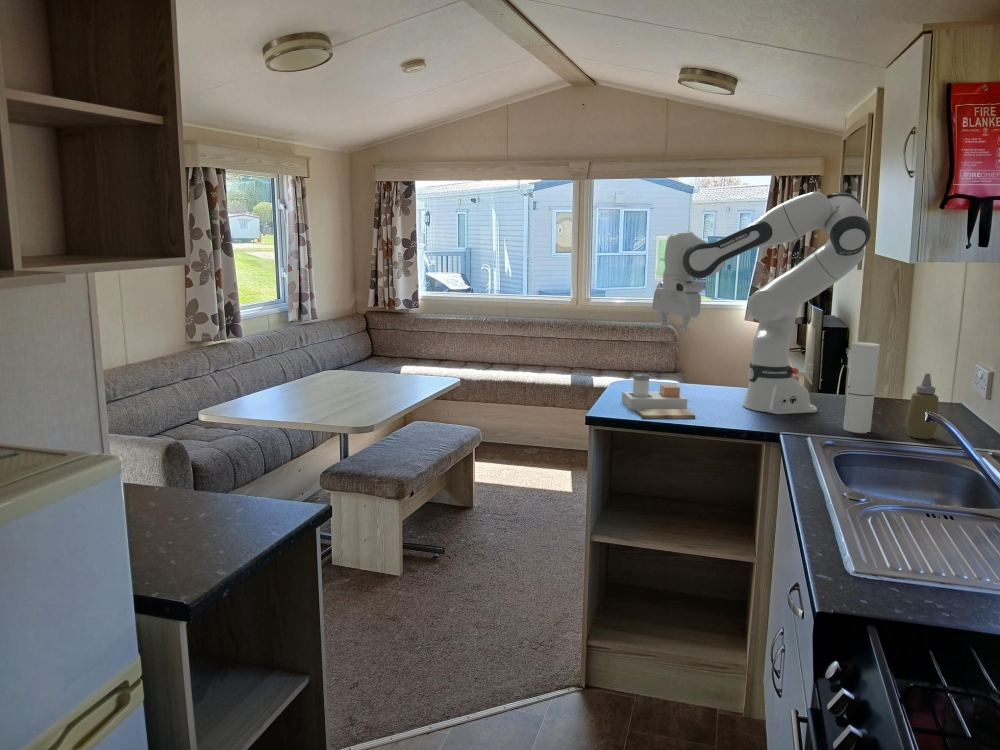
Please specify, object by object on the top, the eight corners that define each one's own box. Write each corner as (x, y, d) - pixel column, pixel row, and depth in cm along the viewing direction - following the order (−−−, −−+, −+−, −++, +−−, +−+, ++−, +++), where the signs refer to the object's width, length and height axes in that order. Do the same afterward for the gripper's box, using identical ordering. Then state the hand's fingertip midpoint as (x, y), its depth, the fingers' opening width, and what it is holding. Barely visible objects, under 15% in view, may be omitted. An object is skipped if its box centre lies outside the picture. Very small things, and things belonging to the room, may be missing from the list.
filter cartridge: (645, 404, 251) (647, 373, 249) (649, 407, 246) (651, 376, 244) (630, 404, 250) (631, 373, 249) (634, 407, 245) (635, 376, 244)
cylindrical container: (865, 427, 225) (874, 342, 221) (874, 433, 218) (883, 346, 214) (839, 426, 226) (848, 341, 221) (848, 432, 219) (857, 345, 214)
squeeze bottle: (922, 442, 210) (930, 377, 207) (897, 434, 218) (904, 372, 214) (943, 439, 213) (951, 375, 210) (917, 432, 221) (924, 370, 217)
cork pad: (686, 412, 240) (686, 409, 240) (695, 418, 232) (695, 415, 232) (636, 412, 239) (636, 409, 239) (642, 418, 231) (643, 415, 231)
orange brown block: (674, 396, 251) (675, 384, 250) (679, 399, 246) (679, 387, 245) (659, 396, 251) (660, 384, 250) (663, 399, 246) (664, 387, 245)
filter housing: (675, 401, 255) (675, 391, 254) (686, 410, 243) (687, 399, 243) (621, 401, 254) (622, 391, 253) (630, 410, 242) (631, 399, 241)
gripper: (649, 281, 249) (646, 324, 252) (688, 287, 231) (685, 333, 233) (665, 281, 251) (662, 323, 254) (705, 287, 233) (702, 332, 236)
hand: (673, 328), depth 244 cm, fingers open, 8 cm apart
